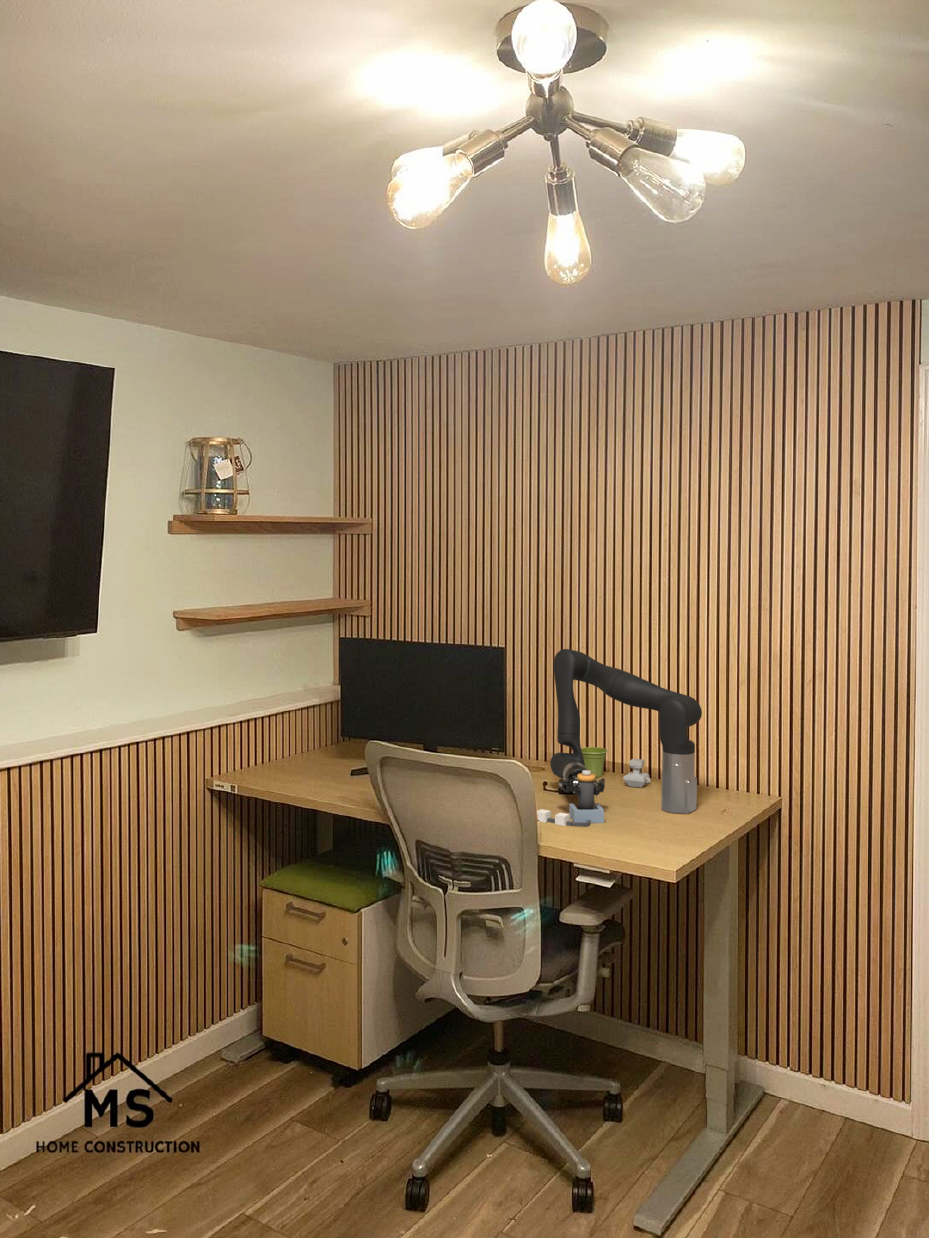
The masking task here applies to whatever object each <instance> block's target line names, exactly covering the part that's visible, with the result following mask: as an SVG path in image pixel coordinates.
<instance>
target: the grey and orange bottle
mask: <svg viewBox="0 0 929 1238" xmlns="http://www.w3.org/2000/svg"><path fill="white" fill-rule="evenodd" d="M578 780H579V787H580V788H581V796H578V795H577V796H578V797H577V798H578V802H577V803H578V804H577V805H578V806H577V809H578V810H592V809H594V803H595V794H594V781H595V780H596V777H595V774H591V771H590V770H583V771H582V773H580V774H578Z"/></svg>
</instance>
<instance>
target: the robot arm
mask: <svg viewBox="0 0 929 1238" xmlns="http://www.w3.org/2000/svg"><path fill="white" fill-rule="evenodd" d="M553 676H554V683H555V693H556V700H557V701H556V702H557V736H556V737H557V738H556V740H557V742H558V744H559V745H561V746H565V747H569V748H570V749H571V751H572V752H556V753H554V754H553V755H552V757H551V758H550V763H549V764H550V770H551V771H552V773H553V775H555V777H558V778H561V779H558V789H560V790H562V791H563V792H566V794H567V793H568V794H569V793H571V792H572V793H573V794H574V795H577V796H581V788H580V787H579V780H578V774H580V773H582V771H583V770H587V769H586V767H585V763H584V758H583V754H582V750H581V748H582V745H581V717H580V712H579V707H578V705H577V701H576V699H575V694H574V681H577V682H578V681H579V682H583V683H586V684H589V685H592V686H594V687H597V688H598V689H599V690H601V691H602V692H603V693H604V694H605V695H606V696H608V697H610V699H611V698H612V699H613V700H615V701H617V702H620V703H622V704H624V705H627V706H629V707H630V706H631V707H634V708H640V709H647V710H651V711H655V712H659V716H658V718H659V719H658V720H659V739H660V743H661V746H662V756H661V757H662V760H661V761H662V763H661V764H662V765H661V766H662V767H661V769H662V772H661V810H663V811H665V812H666V813H667V812H668V813H672V814H686V815H688V814H691V813H693V812H694V811H696V810H697V797H698V796H697V795H698V794H697V792H698V789H697V788H698V778H697V777H696V776H695V759H696V758H695V757H696V754H695V753H696V744H695V742H694V741H692V740H690V739H689V736H688V728H689V727H692V726H694V725H696V724H697V723H698V722H700V720H701V718H702V717H703V715H702V714H703V710H702V707H701V705H700V703H699V702H698V701H697V699H695V698H694V697H692V696H690V695H688V694H687V695H686V694H684V693H679V692H676V691H674V690H670V689H667V688H663V687H661V686H659V685H657V684H655V683H653V682H651V681H648V680H646V679H644V678H642V677H639V676H637V675H635V674H632V673H630V672H629V671H625V670H624V669H620V668H616V667H613V666H609V665H605V664H603V663H601V662H600V661H598V660H595V659H594V658H592V657H591V656H589V655H587V654H585V653H584V652H582V651H577V650H573V649H570V648H563V649H560V650H559V651H557V653H556V654H555V656H554V658H553ZM605 784H606V778H601V779H599V780H596V779H595V781H594V797H595V796H597V797H598V796H599V794H600V793H603V792H604V791H605V788H606V785H605Z"/></svg>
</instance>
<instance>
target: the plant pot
mask: <svg viewBox="0 0 929 1238" xmlns="http://www.w3.org/2000/svg"><path fill="white" fill-rule="evenodd" d="M581 750H582V754H583V758H584V763H585V767H586V769H587V770H590V771H591V774H595V778H600V777H602V776H603V771H604V766H605V765H604V764H605V759H606V758H605V757H606V755H607V753H608V748H607V749H606V748H603V747H597V746H588V747H587V746H586V747H581Z"/></svg>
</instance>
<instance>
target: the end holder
mask: <svg viewBox="0 0 929 1238" xmlns="http://www.w3.org/2000/svg"><path fill="white" fill-rule="evenodd" d="M568 807H569V809H568V810H569V811H568V812H569V813H568V814H570V820H571V822H573V823H574V822H586V821H587V820H591V823H590V824H603V823H605V809H604V808H603V806H602V805H600V802H594V809H592V810H578V807H577V806H576V805H575V803H569V805H568Z"/></svg>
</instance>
